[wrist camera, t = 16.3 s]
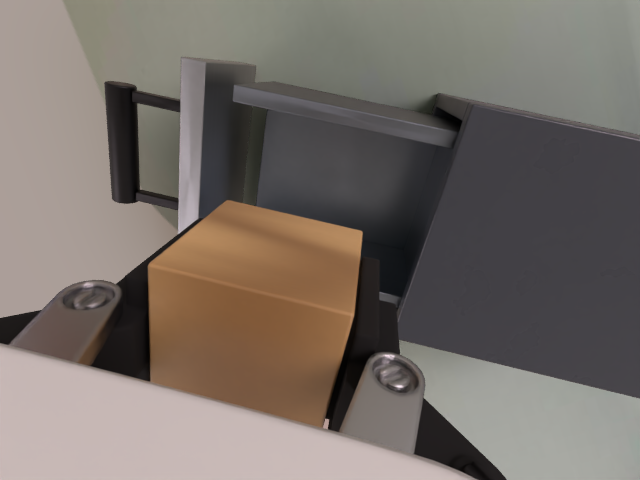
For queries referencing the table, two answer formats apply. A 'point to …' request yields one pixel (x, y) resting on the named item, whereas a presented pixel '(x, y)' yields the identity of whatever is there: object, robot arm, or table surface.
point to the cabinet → (533, 248)
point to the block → (255, 310)
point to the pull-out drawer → (293, 158)
